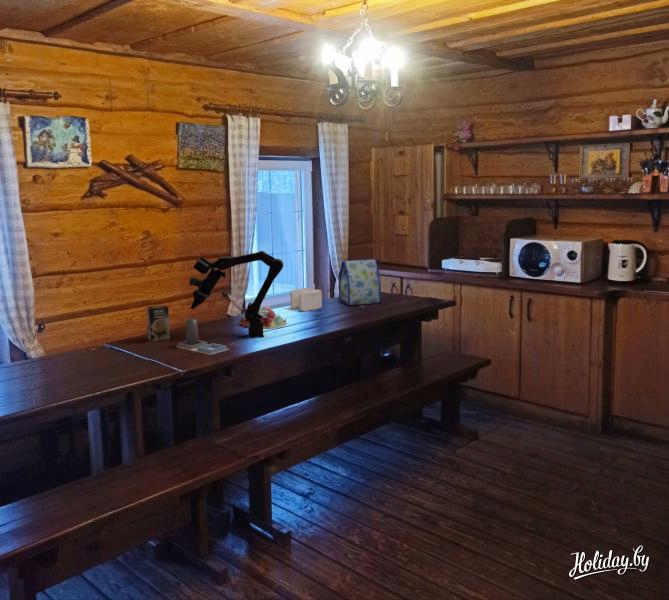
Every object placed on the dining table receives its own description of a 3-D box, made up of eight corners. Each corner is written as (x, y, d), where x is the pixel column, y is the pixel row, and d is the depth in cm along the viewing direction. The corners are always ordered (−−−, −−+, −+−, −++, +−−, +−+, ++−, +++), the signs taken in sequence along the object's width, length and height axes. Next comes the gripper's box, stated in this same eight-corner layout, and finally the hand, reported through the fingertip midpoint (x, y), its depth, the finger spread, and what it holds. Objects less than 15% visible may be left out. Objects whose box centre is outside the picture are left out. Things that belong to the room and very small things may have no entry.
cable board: (175, 348, 301) (175, 343, 301) (195, 343, 310) (194, 338, 309) (210, 356, 287) (210, 351, 287) (229, 351, 296) (229, 345, 295)
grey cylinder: (198, 344, 305) (197, 318, 303) (198, 346, 300) (197, 320, 298) (186, 344, 304) (185, 318, 302) (187, 347, 299) (185, 320, 297)
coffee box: (150, 343, 312) (148, 308, 309) (147, 340, 318) (145, 306, 315) (170, 340, 316) (168, 306, 314) (167, 337, 322) (165, 304, 319)
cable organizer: (311, 306, 394) (310, 287, 392) (322, 309, 386) (322, 289, 384) (290, 310, 385) (289, 290, 383) (301, 312, 377) (301, 292, 375)
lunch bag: (369, 299, 416) (369, 256, 411) (382, 303, 401) (382, 259, 396) (336, 302, 406) (336, 259, 401) (349, 307, 391) (348, 262, 387)
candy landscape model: (231, 327, 344) (230, 309, 342) (251, 318, 366) (251, 301, 364) (276, 330, 336) (276, 312, 334) (294, 320, 358) (294, 303, 356)
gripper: (200, 267, 327) (183, 294, 329) (193, 273, 308) (174, 301, 310) (220, 280, 328) (202, 306, 330) (213, 287, 309) (195, 314, 312)
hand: (193, 307), depth 320 cm, fingers open, 9 cm apart
